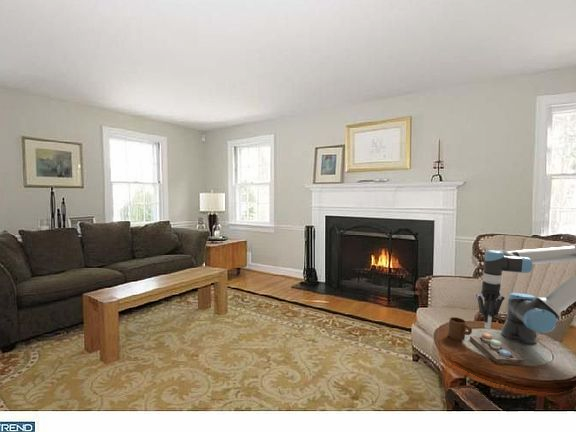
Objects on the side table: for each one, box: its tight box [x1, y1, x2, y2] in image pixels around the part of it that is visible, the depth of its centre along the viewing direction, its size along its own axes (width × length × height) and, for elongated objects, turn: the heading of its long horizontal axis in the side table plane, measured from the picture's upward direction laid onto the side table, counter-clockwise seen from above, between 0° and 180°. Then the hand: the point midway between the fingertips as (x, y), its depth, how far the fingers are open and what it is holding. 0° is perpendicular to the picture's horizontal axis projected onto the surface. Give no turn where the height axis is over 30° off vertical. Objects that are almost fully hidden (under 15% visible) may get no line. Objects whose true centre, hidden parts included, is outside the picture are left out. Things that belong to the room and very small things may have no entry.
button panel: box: [469, 335, 525, 365], centre depth 154 cm, size 12×22×2 cm, turn 179°
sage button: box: [490, 339, 502, 350], centre depth 154 cm, size 4×4×3 cm
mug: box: [447, 316, 473, 342], centre depth 165 cm, size 12×8×9 cm, turn 21°
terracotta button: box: [481, 332, 493, 343], centre depth 161 cm, size 4×4×3 cm
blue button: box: [499, 349, 511, 358], centre depth 147 cm, size 4×4×3 cm
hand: (487, 328), depth 161 cm, fingers closed
